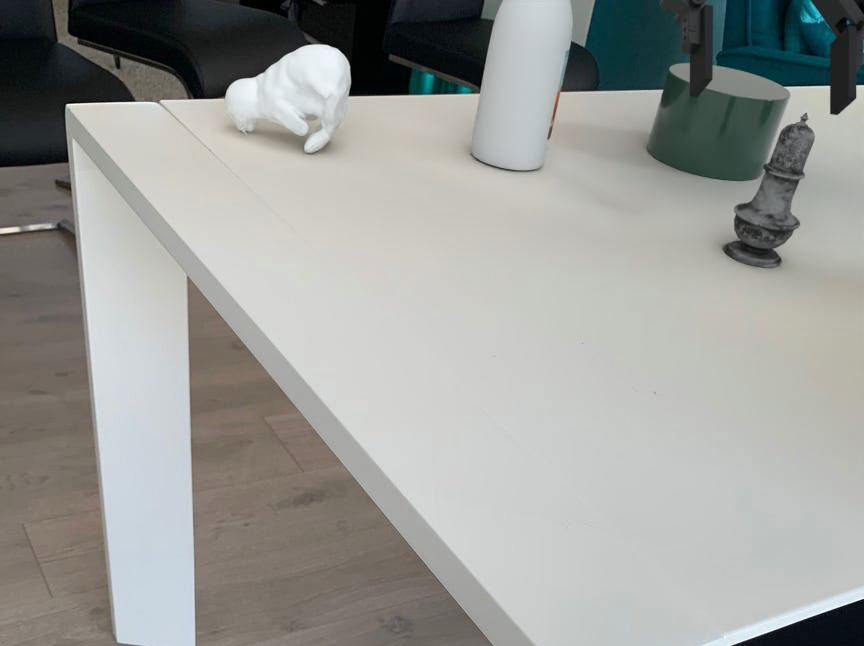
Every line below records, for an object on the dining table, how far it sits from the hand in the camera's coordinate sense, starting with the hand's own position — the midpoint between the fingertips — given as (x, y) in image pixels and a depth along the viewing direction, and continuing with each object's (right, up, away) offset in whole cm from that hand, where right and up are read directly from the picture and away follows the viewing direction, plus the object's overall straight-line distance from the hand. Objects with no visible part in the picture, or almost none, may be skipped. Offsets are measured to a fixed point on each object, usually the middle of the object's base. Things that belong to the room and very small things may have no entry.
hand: (772, 97), depth 89 cm
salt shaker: (-1, -13, +3) cm, 13 cm away
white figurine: (-44, +1, +9) cm, 45 cm away
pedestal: (+1, +6, +24) cm, 25 cm away
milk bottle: (-22, +1, +14) cm, 26 cm away
